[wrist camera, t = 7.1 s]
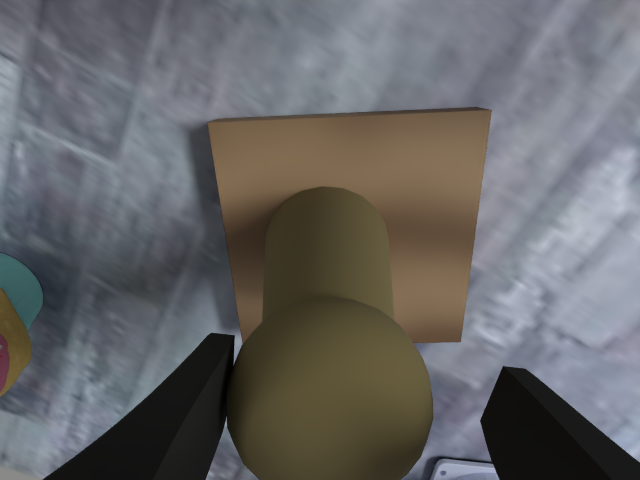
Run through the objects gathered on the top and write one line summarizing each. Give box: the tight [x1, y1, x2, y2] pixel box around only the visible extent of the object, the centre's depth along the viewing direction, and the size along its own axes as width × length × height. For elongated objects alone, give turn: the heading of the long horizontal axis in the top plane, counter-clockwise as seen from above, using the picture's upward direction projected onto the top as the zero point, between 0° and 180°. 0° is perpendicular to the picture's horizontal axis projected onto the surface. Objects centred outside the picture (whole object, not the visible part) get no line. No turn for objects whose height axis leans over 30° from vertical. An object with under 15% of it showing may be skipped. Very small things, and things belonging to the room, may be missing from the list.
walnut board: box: [208, 107, 492, 343], centre depth 19 cm, size 12×12×2 cm
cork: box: [227, 186, 433, 480], centre depth 13 cm, size 6×6×11 cm
